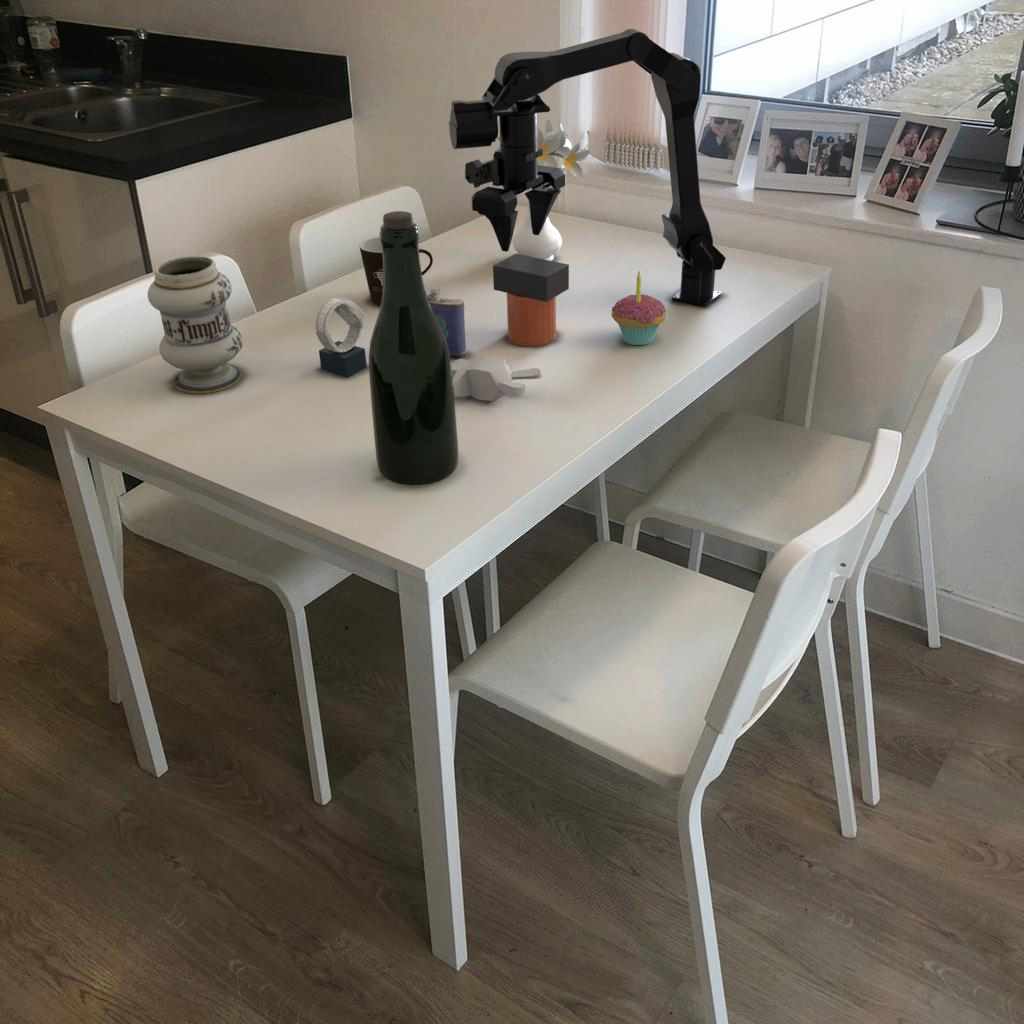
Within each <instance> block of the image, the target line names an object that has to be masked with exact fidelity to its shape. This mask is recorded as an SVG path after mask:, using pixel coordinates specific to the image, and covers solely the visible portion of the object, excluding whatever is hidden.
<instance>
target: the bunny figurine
mask: <svg viewBox="0 0 1024 1024" xmlns="http://www.w3.org/2000/svg"><path fill="white" fill-rule="evenodd" d="M451 368H452V377H453V389H454V399H456V398H461V397H468V396H471V397H472V398H474V399H476V400H479V401H491V402H495V401H496V400H498V398H499V397H500V396H502V395H503V394H507V395H508V396H510V397H513V398H519V397H523V396H524V395H525V393H526V387H527V386H526V384H525V383H522V382H518V381H517V380H539V379H542V378H543V374H542V371H541V369H540V368H538V367H533V368H526V369H520V370H515V371H514V370H513V371H512V369H510V367H509V365H508V363H507V361H506V360H505V359H504V358H501V357H497V356H496V357H494V356H488V357H487V356H486V357H482V358H478V359H474V360H466V359H465V358H457V359H456V360H454V361H453V362H451ZM514 380H515V381H514Z"/></svg>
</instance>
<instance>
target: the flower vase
mask: <svg viewBox="0 0 1024 1024" xmlns="http://www.w3.org/2000/svg"><path fill="white" fill-rule="evenodd" d="M544 124H545V125H544V126H545V127H544V128H545V129H544V132H543V131H542V129H541V128H540V127H537V148H541V149H543V155H542V156H540V157H538V158H537V165H542V166H549V167H556V168H558V162H557V160H556V158H555V156H556V157H558V158H560V159H562V160H561V163H560V168H561V169H562V171H563V172H564V174H565V184H566V183H567V182H569V179H570V176H571V174H572V175H573V176H574V177H575V178H576V179H579V178H581V177H582V175H583V169H582V166H581V165H580V163H579V162H583V161H585V159H587V157H588V156H589V155H590V153H591V151H590V149H584V150H581V151H580V147H581V143H580V142H579V141H578V142H576V143H575V144H574V146H573V147H572V144H571V142H570V140H569V138H568V132H567V131H566V130H564V129H563V126H562V123H561V122H560V124H559V131H557V132H555V133H554V125H553V123H552V121H551V120H550V119H546V121H545V123H544ZM497 141H498V142H500V135H498V137H497ZM497 150H500V146H498V147H497V148H496V150H495V151H497ZM527 200H528V199H527ZM527 204H528V205H527V213H526V216H525V219H524V221H523V223H522V224H521V226H520V227H518V229H517V230H516V231H515V234H513V237H512V246H513V249H514V250H515V252H516V253H517V254H520V255H524V256H529V257H534V258H539V259H544V260H549V261H553V260H554V258H555V254H557V253H558V252H559V251H560V249H561V247H562V244H563V238H562V236H561V234H560V231H559V230H558V229H557V228H556V227H555V226H554V225H553V224H552V223H551V220H550V218H549V216H548V217H547V219H546V221H545V223H544V226H543V228H542V230H541V232H540V234H539V235H534V234H533V232H532V226H531V216H530V206H529V200H528V203H527Z"/></svg>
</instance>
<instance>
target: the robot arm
mask: <svg viewBox="0 0 1024 1024" xmlns="http://www.w3.org/2000/svg"><path fill="white" fill-rule="evenodd" d="M630 62H634V63H635V64H636V65H638V67H640V68H641V69H642V70H644V71H645V72H647V73H648V74H649V75H650V78H651V83H652V86H653V90H654V93H655V97H656V100H657V102H658V104H659V106H660V109H661V111H662V114H663V116H664V122H665V123H664V124H665V133H666V134H665V135H666V144H667V155H668V166H669V176H670V178H669V179H670V189H671V198H672V199H671V200H672V202H671V203H672V205H671V208H670V211H669V213H665V214H662V215H661V221H662V224H663V233H662V237H663V238H664V239H665V240H666V242H667V243H668V245H669V246H670V247H671V248H672V249H673V250H674V251H675V254H676V256H677V257H678V258H680V259H681V260H682V262H681V274H680V290H678V292H676V293H675V294H673V295H672V296H671V299H672V300H674V301H679V302H683V303H688V304H692V305H697V306H701V307H706V306H708V305H709V304H711V303H712V302H714V301H715V300H716V299H717V298H719V297H721V296H722V292H721V291H718V290H715V282H716V271H720V270H722V268H723V266H724V264H725V262H726V260H727V259H726V257H725V255H724V254H723V253H722V252H721V251H720V250H719V249H718V248H717V247H715V245H714V237H713V234H712V230H711V226H710V223H709V219H708V218H707V215H706V213H705V211H704V209H703V205H702V203H701V192H700V191H701V190H700V177H699V164H698V152H697V139H696V138H697V137H696V126H695V114H696V111H697V108H698V104H699V101H700V97H701V86H702V72H701V69H700V67H699V65H698V64H697V63H695V62H694V61H693V60H692V59H689V58H687V57H684V56H682V55H680V54H678V53H675V52H669V51H668V50H666V49H665V48H663V47H662V46H661V45H659V44H657V43H656V42H655V41H654V40H652V39H651V38H649V36H648V35H647V34H646V33H644V32H642V31H640V30H638V29H635V28H628V29H625V30H624V31H622V32H619V33H614V34H612V35H608V36H604V37H601V38H596V39H592V40H589V41H586V42H585V41H584V42H582V43H579V44H575V45H570V46H567V47H563V48H560V49H557V50H551V51H518V52H517V51H516V52H508V53H506V54H504V55H502V56H501V57H500V58H499V59H498V62H497V64H496V65H495V68H494V77H493V78H492V80H491V81H490V83H489V85H488V87H487V88H486V90H485V92H484V93H483V95H482V96H481V99H477V100H461V99H459V100H452V101H451V110H450V114H449V115H450V116H449V121H448V131H449V137H450V138H449V139H450V143H451V146H452V149H453V150H460V149H461V150H463V149H473V148H484V147H485V148H486V147H491V146H492V144H493V143H496V140H498V137H499V136H500V141H499V147H500V150H497V149H496V150H497V151H496V150H494V152H493V155H492V157H493V159H489V160H486V161H483V162H481V160H480V159H475V160H471V161H469V162H466V163H465V165H464V179H465V181H467V183H468V184H470V185H473V188H474V189H477V188H480V186H482V185H485V184H489V183H492V186H486V187H484V188H482V189H480V190H478V191H475V193H474V194H473V195H472V196H471V198H470V199H471V210H472V211H473V212H477V214H479V215H480V216H484V217H485V218H486V219H487V220H489V222H490V224H491V226H492V228H493V231H494V234H495V236H496V239H497V242H498V244H499V247H500V249H501V251H502V252H506V253H507V252H509V251H510V248H511V244H512V242H513V237H514V232H515V227H516V224H517V219H518V214H519V211H518V210H516V209H517V206H518V197H521V196H522V195H525V198H526V199H527V200H529V206H530V216H531V226H532V232H533V234H534V235H539V234H540V232H541V230H542V228H543V226H544V223H545V221H546V219H547V217H548V218H549V215H550V212H551V210H552V208H553V206H554V204H555V202H556V200H557V199H558V196H559V194H561V192H562V190H561V189H562V188H564V187H566V183H565V174H564V172H563V169H562V167H549V166H542V165H537V158H538V157H540V156H542V155H543V149H541V148H537V128H538V114H540V113H549V112H550V111H551V107H550V106H549V105H548V104H547V103H546V102H544V100H543V99H542V97H541V95H540V94H542V93H543V92H545V91H548V90H549V89H550V88H552V87H553V86H554V85H556V84H557V83H560V82H562V81H564V80H567V79H571V78H574V77H578V76H582V75H586V74H589V73H592V72H596V71H600V70H604V69H607V68H611V67H615V66H619V65H622V64H626V63H630ZM498 119H499V120H498ZM493 186H494V187H493ZM500 186H501V187H502V188H499V187H500Z"/></svg>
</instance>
